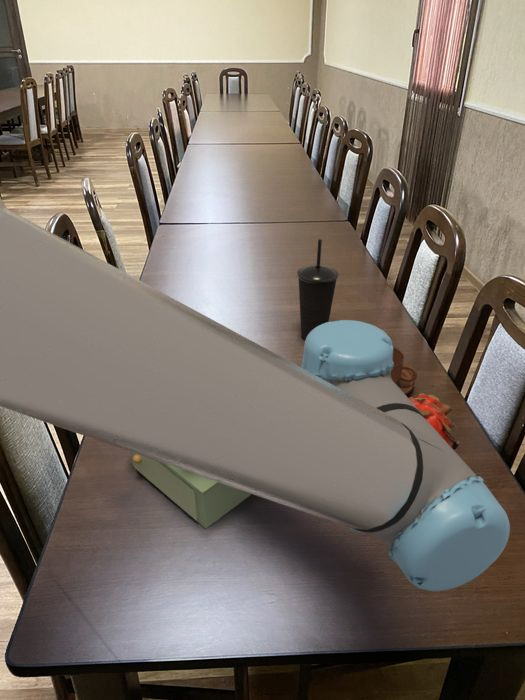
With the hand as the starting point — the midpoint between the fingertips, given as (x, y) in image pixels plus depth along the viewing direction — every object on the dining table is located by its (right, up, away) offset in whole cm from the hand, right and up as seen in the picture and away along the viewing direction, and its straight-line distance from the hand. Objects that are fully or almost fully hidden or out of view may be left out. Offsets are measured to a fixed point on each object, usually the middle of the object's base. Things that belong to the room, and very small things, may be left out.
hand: (138, 348), depth 72 cm
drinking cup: (+27, +2, +34) cm, 43 cm away
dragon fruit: (+40, -15, +7) cm, 43 cm away
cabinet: (+8, -17, +1) cm, 19 cm away
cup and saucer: (+36, -6, +20) cm, 42 cm away
